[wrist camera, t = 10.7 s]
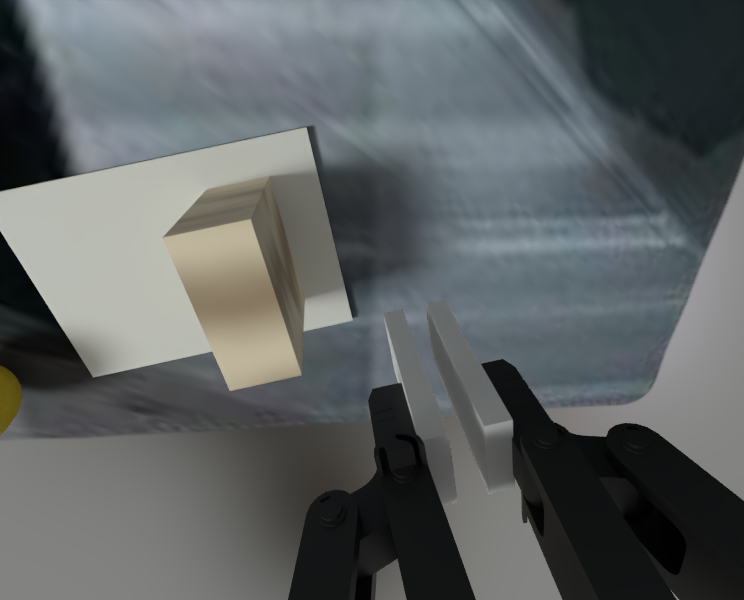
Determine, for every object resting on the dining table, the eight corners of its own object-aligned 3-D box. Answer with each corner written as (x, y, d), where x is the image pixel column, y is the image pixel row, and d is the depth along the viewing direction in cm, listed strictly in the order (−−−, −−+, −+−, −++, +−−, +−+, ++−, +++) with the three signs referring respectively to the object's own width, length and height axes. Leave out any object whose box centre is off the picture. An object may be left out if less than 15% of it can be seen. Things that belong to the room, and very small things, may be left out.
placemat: (306, 126, 26) (306, 127, 26) (352, 317, 33) (352, 320, 33) (-17, 194, 26) (-22, 196, 26) (95, 374, 33) (93, 377, 32)
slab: (304, 298, 31) (301, 375, 24) (251, 310, 31) (229, 390, 23) (268, 176, 27) (250, 219, 19) (206, 189, 27) (162, 237, 19)
